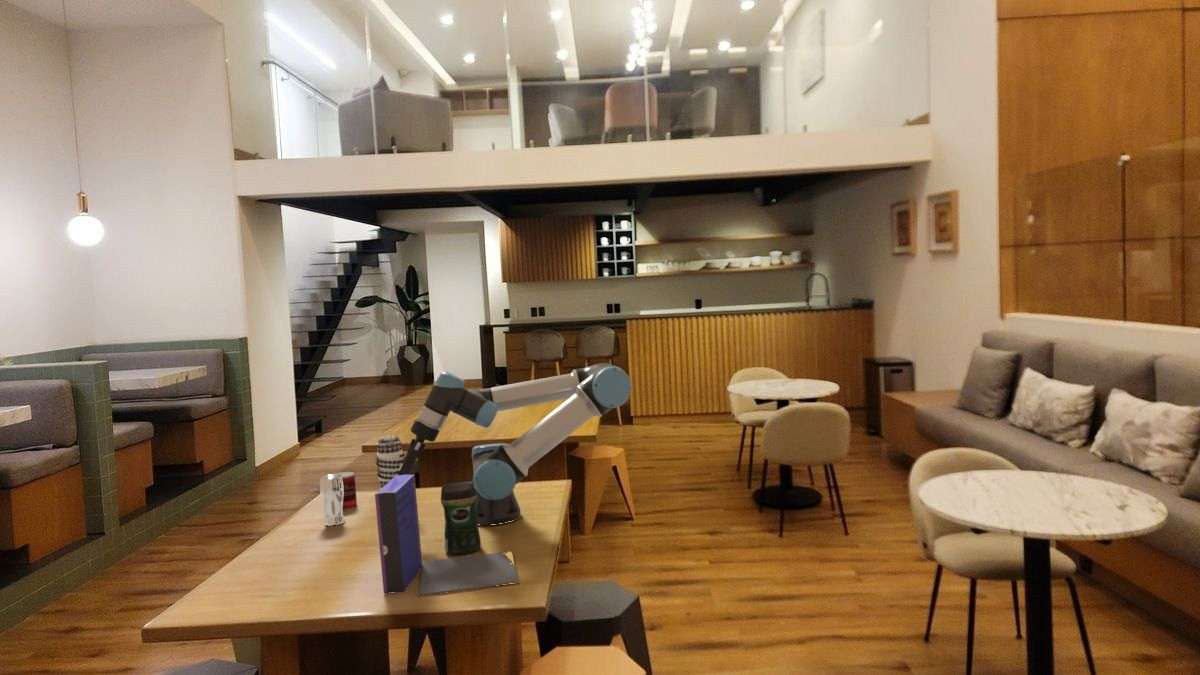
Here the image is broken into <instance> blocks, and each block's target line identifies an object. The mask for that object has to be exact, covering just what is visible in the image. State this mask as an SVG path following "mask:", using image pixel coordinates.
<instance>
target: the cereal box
mask: <svg viewBox="0 0 1200 675" xmlns="http://www.w3.org/2000/svg"><path fill="white" fill-rule="evenodd" d="M380 488H381V487H380ZM380 488H379V490H378V491H377V492H376V493H375V494H374V497H375V498H374V499H375V509H376V510H375V511H376V521H377V530H378V531H377V533H378V543H379V544H378V545H379V554H380V563H381V564H380V566H381V576H382V585H383V588H382V589H383V594H384V593H387V594H392V593H391V592H403V593H405V592H406V591H407V589H408V588H409V586H410V584H411V583H412V581H413V579H414V578H415V577H416V576H417V574H418V573H419V571H420V570H421V568H422V567H423V558H422V557H423V555H422V547H421V546H422V545H421V536H420V525H419V512H418V511H419V510H418V502H417V501H418V500H417V499H418V498H417V491H416V490H417V489H416V477H415V474H409V475H399V476H395V477H394V478H393V479H392V480H391V481H389V482H388V483H387V484H386V485H385V486H384V487H383V488H381V489H380ZM421 566H422V567H421ZM419 569H420V570H419ZM408 585H409V586H408ZM406 588H407V589H406ZM404 591H405V592H404ZM389 592H390V593H389Z"/></svg>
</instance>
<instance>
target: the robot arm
mask: <svg viewBox="0 0 1200 675" xmlns="http://www.w3.org/2000/svg"><path fill="white" fill-rule="evenodd" d="M465 384H466V382H465V380H464V379H462V378H461V377H458V375H455V374H453V373H450V372H448V371H442V372H440V374H439V375H438V377H437V379H436V380H435V382H434V384H433V386H432V388H431V390H430V392H429V393H428V395H427V397H426V399H425V402H424V403H423V406H419V408H418V410H419V413H418V415H417V419H415V420H414V422H413V424H412V426H411V428H410V432H411V433H412V434H414V436H415V438H412V440H411V441H410V444H409V447H408V449H407V452H406V454H405V456H403V457H404V458H403V459H402V460H403V461H402V462H403V463H401V465H400V467H399V469H398V471H396V475H395V476H399V475H410V472H411V470H412V468H413V467H414V465H415V462H416V460H417V459H418V458H419V457H420V455H421V454H422V452H423V450H424V449H425V447H426V444H425V441H428V442H431V443H433V442H435V441H436V439H437V438H438V435H439V433H440V430H441V429H442V428H443V426H444V425H445V422H446V421H447V418H448V417H449V415H450V412H452V413H453V414H456V415H458V416H461V418H464V419H466V420H468V421H469V422H472V423H474V424H475V425H477V426H480V427H482V428H485V429H487V428H489V427H490V426H491V425H492V424H493V421H494V420H495V418H496V416H497V414H498V412H502V411H508V410H513V409H518V408H523V407H529V406H535V405H536V406H537V405H540V404H546V403H551V402H553V403H554V402H558V401H563V400H564V402H562V403H561V404H560V405H559V406H557V407H556V408H554V410H552V411H551V412H550V413H548V414H547V415H546V416H544V418H542V419H541V420H539V421H538V422H537V423H535V424H534V425H533V426H532V427H531V428H529V429H527V431H526V432H524V433H523V434H522V435H520V436H519V437H518V438H517V439H515V440H514V441H512V443H510V444H508V443H505V442H503V443H490V444H489V443H488V444H482V445H481V444H480V445H476V446H473V447H472V449H471V458H472V467H473V468H472V469H473V470H472V472H473V474H472V482H473V484H474V487H475V491H476V496H477V498H476V502H475V512H476V519H477V524H480V525H479V526H482V525H491V524H499V523H505V522H508V521H512V520H515V519H517V518H519V517H520V515H521V507H520V505H519V501H518V500H517V497H516V494H515V493H514V489H515V488H516V485H517V484H519V483H520V482H521V481H522V480H524V479H525V478H526V477H528V472H529V468H530V467H532V466H533V465H534V464H536V463H537V461H539V460H540V459H541V458H543V457H544V456H545V455H547V454H548V453H549V452H550V451H552V450H553V449H554V448H555V447H557V446H558V445H559V444H560V443H562V442H563V441H564V440H565V439H567V438H569V437H570V436H571V435H572V434H574V432H576V431H577V430H578V429H580V427H582V426H583V425H584V424H586V423H587V422H588V421H590V420H591V419H592V418H593V417H598V418H599V417H600V418H601V417H603V416H604V415H605V414H607V413H608V412H609V411H611V410H612V409H615V408H619V407H620V406H622V405H624V404H625V403H626V402H627V401H628V399H629V398H630V396H631V392H632V381H631V379H630V377H629V375H628V374H627V373H626V371H625V370H624V369H622V368H621V367H620V366H617V365H614V364H612V363H608V362H600V363H597V364H593V365H589V366H588V365H587V366H585V367H581V368H576V369H573V370H572V371H571V372H570V373H565V374H559V375H554V376H550V377H549V376H548V377H545V378H538V379H532V380H526V381H521V382H516V383H510V384H504V385H499V386H493V387H489V388H481V389H478V388H474V389H473V388H472V389H470V390H468V389H466V388H465ZM520 518H521V517H520ZM520 518H519V519H520ZM517 520H518V519H517Z"/></svg>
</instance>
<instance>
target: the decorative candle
mask: <svg viewBox="0 0 1200 675" xmlns="http://www.w3.org/2000/svg"><path fill="white" fill-rule="evenodd" d="M402 441H403V440H402V439H400V437H399V436H397V435H386V436H383V437H380V438H379V439H378V441H377V442H376V443H375V444H376V448H377V449H376V450H377V452H376V454H377V455H376V457H375V461H376V463H375V465H376V466H377V468H376V472H377V473H376V474H377V476H378V481H379V483H380V484H379V485H380V487H379V490H380V489H381V488H383V487H384V486H385V485H386V484H387V483H388V482H389V481H391V480H392V479H393V478H394V477H395V475H396V471H398V469H399V467H400V465H401V463H402V464H403V462H402V461H403V460H404V459H403V457H405V456H406V454H405V453H403V449H402Z"/></svg>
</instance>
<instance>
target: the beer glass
mask: <svg viewBox="0 0 1200 675" xmlns="http://www.w3.org/2000/svg"><path fill="white" fill-rule="evenodd" d="M319 492H320V499H321V502H322V506H323V509H324V514H325V516H324V526H326V527H334V526H333V525H336V526H340V525H343V524H344V523H346V519H345V516H344V515H345V514H344V511H343V510H344V509H343V498H344V487H343V480H342V475H341V474H336V473H332V474H331V473H330V474H326V475H322V476H321V477H319ZM342 523H343V524H342ZM339 524H340V525H339ZM327 525H328V526H327Z"/></svg>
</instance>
